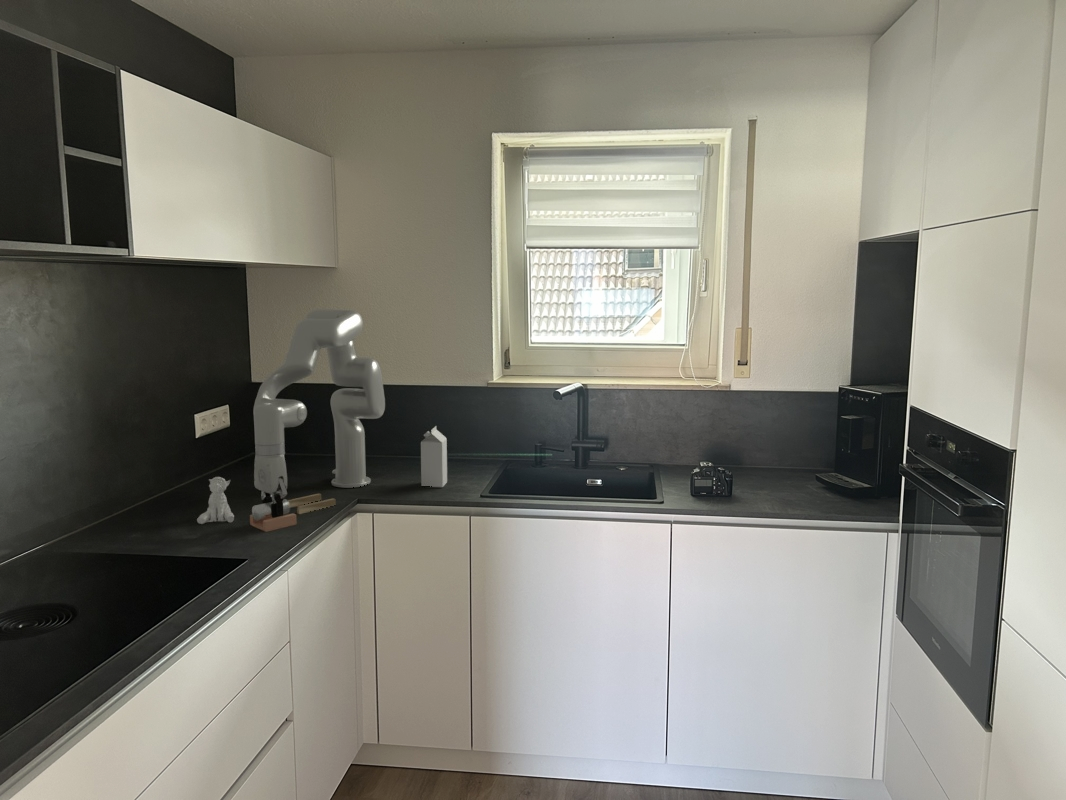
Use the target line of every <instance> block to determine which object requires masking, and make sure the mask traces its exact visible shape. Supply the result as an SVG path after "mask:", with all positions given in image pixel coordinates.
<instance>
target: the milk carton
mask: <svg viewBox="0 0 1066 800" xmlns="http://www.w3.org/2000/svg"><path fill="white" fill-rule="evenodd" d="M423 437H424V439H422V440H421V442H420V475H421V476H420V479H421V480H420V481H421V486H430V487H429V488H443V487H445V485H446V484H447V483H448V449H447V447H448V445H447V444H448V442H447V441H448V440H447V437H446V436H445V435H443V433H442V432H440V431H439V430H438V429H437V425H435V426H434V427H433V428H432V429H430V431H429V430H428V431H426V432H425V433H424V434H423ZM431 486H432V487H431Z"/></svg>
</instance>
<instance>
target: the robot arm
mask: <svg viewBox="0 0 1066 800" xmlns="http://www.w3.org/2000/svg"><path fill="white" fill-rule="evenodd" d="M305 317H306V318H304V319H301V320H299V322H297V324H296V325H295V327H294V330H293V331H294V332H293V334H292V337H291V339H290V343H289V346H288V350H287V352H286V354H285V355H286V356H285V358H284V361H283V363H282V364H281V365H280V366H278V367H277V368H276V369H275V370H273V371H272V372H271V373H270V374H269V375H268V376H267V377H266V378H265V379H264V380H263V381H262V383H261V384H260V386H259V389H258V391H257V395H256V398H255V400H254V405H253V413H252V414H253V425H254V427H253V428H254V430H253V431H254V445H255V447H254V448H255V457H254V467H253V469H254V470H253V471H254V473H253V477H254V478H253V480H254V481H253V483H254V487H255V489H257V490H259V492H260V495H261V496H260V498H261V500H262V503H261V504H265V503H269V502H273V503H272V504H271V511H272V518H275V517H280V516H284V515H285V514H284V513H283V502H284V499H286V496H288V492H287V489H288V473H287V463H286V460H285V459H286V458H285V454H286V451H285V450H286V447H285V445H286V444H285V443H286V442H285V428H295V427H298V426H300V425H301V424H304V423H305V422H304V421H305V420H306V418H307V416H308V410H307V406H306V405H305V404H304V403H303V402H302V401H300V400H298V399H297V400H296V399H289V398H288V399H287V398H285V399H284V398H276V397H277V396H278V394H279V393H280V392H281V391H282V390H284V389H285V388H286V387H288V386H290V385H292V384H293V383H296V382H299V381H301V380H303V379H305V378H308V377H310V376H312V374H313V373H314V371H315V368H316V364H317V361H318V357H319V355H320V351H321V350H322V349H326V353H327V359H328V363H329V364H328V365H329V366H328V367H329V371H330V377H331V380H332V382H333V383H334V385H336V386H340V387H345V388H340V389H337V390H335V391H334V392H333V393H332V395H331V398H330V408H331V412H332V418H333V424H334V425H333V426H334V446H335V447H334V449H335V469H333V470H332V471H331V473H332V474H334V475H335V478H333V479H332V480H331V485H332V486H333V487H335V488H336V487H337V488H340V489H341V488H343V489H345V488H346V489H350V488H353V487H354V488H359V487H360V486H361V487H365V486H367V484H368V485H369V484H371V481H372V480H371V478H370V477H368V476H366V475H367V474H366V473H367V472H366V470H367V469H366V439H365V438H366V435H365V427H364V426H363V423H362V422H361V420H360V419H365V420H366V419H368V420H370V419H371V420H374V419H380V418H381V417H382V416H383V415H384V412H385V410H386V398H385V390H384V383H383V376H382V369H381V367H380V364H379V363H378V361H377V360H376V359H374V358H372V357H361V356H360V357H359V356H357V354H356V350H355V345H354V341H353V340H355V339H356V338H358V337H359V336H360V335H361V333H362V330H363V326H364V322H363V317H362V315H361V314H360V313H359V312H358V311H357V310H354V309H335V308H334V309H333V308H332V309H331V308H330V309H329V308H324V309H323V308H321V309H314V310H310V311H309V312H308V313H307V314H306V316H305ZM347 387H352V388H347ZM364 485H365V486H364ZM354 488H353V489H354ZM276 495H277V496H276Z"/></svg>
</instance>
